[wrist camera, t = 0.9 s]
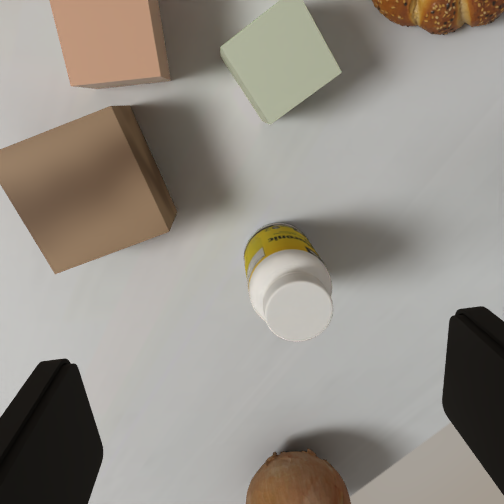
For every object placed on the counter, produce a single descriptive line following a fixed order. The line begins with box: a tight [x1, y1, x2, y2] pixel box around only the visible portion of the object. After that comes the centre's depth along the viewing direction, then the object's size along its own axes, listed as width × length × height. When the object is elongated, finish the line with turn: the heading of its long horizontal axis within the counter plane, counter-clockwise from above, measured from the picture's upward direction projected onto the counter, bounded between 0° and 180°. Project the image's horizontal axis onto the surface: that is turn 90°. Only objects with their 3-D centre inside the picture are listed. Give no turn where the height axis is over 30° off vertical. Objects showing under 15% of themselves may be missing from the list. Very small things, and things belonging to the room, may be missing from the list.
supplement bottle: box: [244, 223, 333, 342], centre depth 27 cm, size 5×5×10 cm
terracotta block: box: [50, 0, 171, 89], centre depth 23 cm, size 5×5×5 cm
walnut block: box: [0, 105, 177, 274], centre depth 26 cm, size 8×8×5 cm
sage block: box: [220, 0, 342, 125], centre depth 24 cm, size 5×5×5 cm
